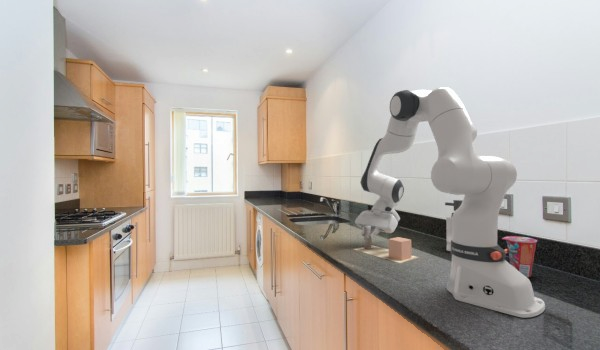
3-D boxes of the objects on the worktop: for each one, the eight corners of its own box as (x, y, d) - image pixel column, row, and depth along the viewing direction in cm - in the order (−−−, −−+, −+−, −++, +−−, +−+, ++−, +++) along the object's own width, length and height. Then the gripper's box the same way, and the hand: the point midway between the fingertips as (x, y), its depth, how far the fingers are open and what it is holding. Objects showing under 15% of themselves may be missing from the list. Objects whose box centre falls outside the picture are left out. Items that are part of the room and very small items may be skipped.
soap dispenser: (451, 247, 133) (450, 199, 132) (470, 251, 125) (469, 200, 125) (441, 249, 129) (441, 199, 129) (460, 253, 122) (460, 201, 122)
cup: (517, 269, 102) (517, 235, 102) (544, 277, 94) (543, 240, 94) (497, 272, 99) (497, 237, 99) (523, 280, 91) (523, 242, 91)
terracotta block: (411, 257, 112) (411, 239, 112) (401, 260, 109) (401, 241, 109) (398, 254, 117) (398, 237, 117) (388, 256, 114) (388, 239, 114)
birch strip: (419, 260, 113) (419, 231, 113) (400, 266, 106) (399, 235, 106) (371, 247, 133) (371, 223, 132) (353, 252, 126) (352, 226, 126)
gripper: (361, 205, 139) (346, 228, 134) (396, 209, 122) (381, 235, 117) (367, 213, 142) (353, 236, 136) (403, 219, 125) (389, 245, 119)
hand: (366, 236), depth 126 cm, fingers closed on birch strip, 3 cm apart
